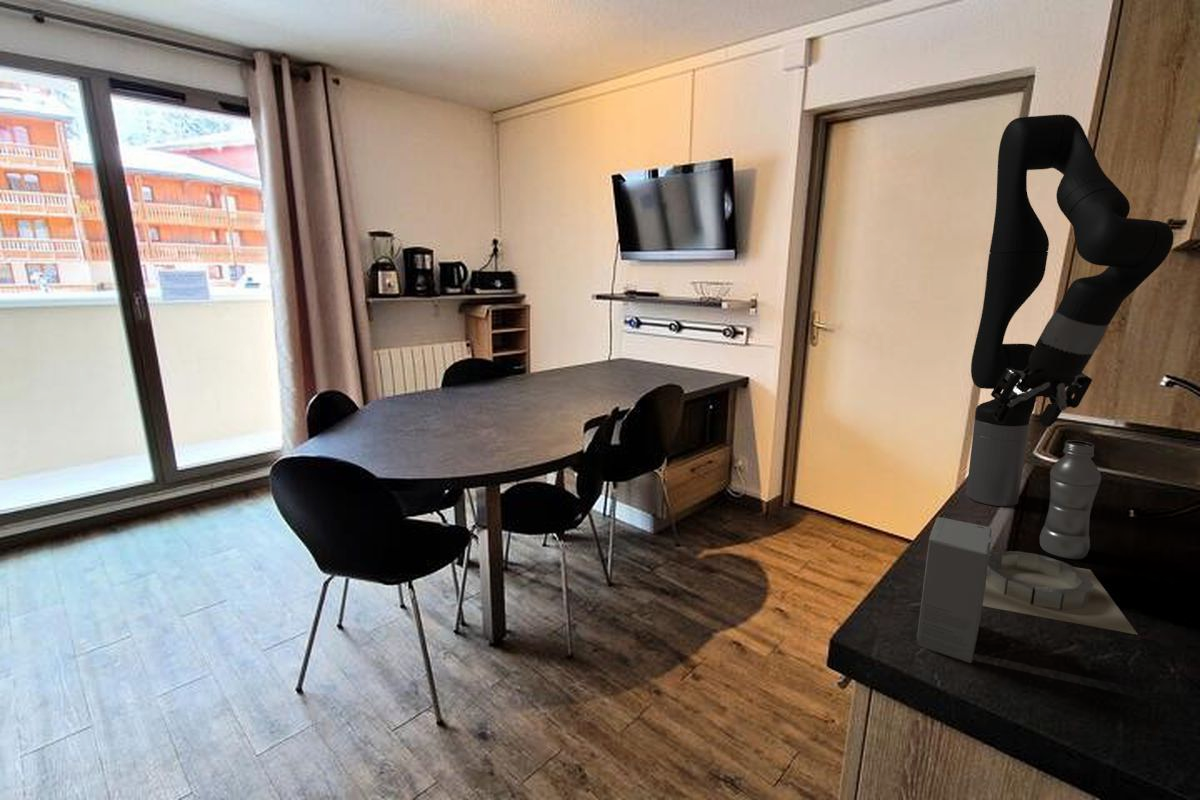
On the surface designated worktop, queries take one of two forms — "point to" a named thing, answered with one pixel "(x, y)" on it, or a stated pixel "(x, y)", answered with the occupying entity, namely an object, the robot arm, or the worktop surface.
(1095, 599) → the birch board
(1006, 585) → the steel collar
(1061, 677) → the worktop surface
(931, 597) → the skincare box
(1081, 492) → the plastic bottle
